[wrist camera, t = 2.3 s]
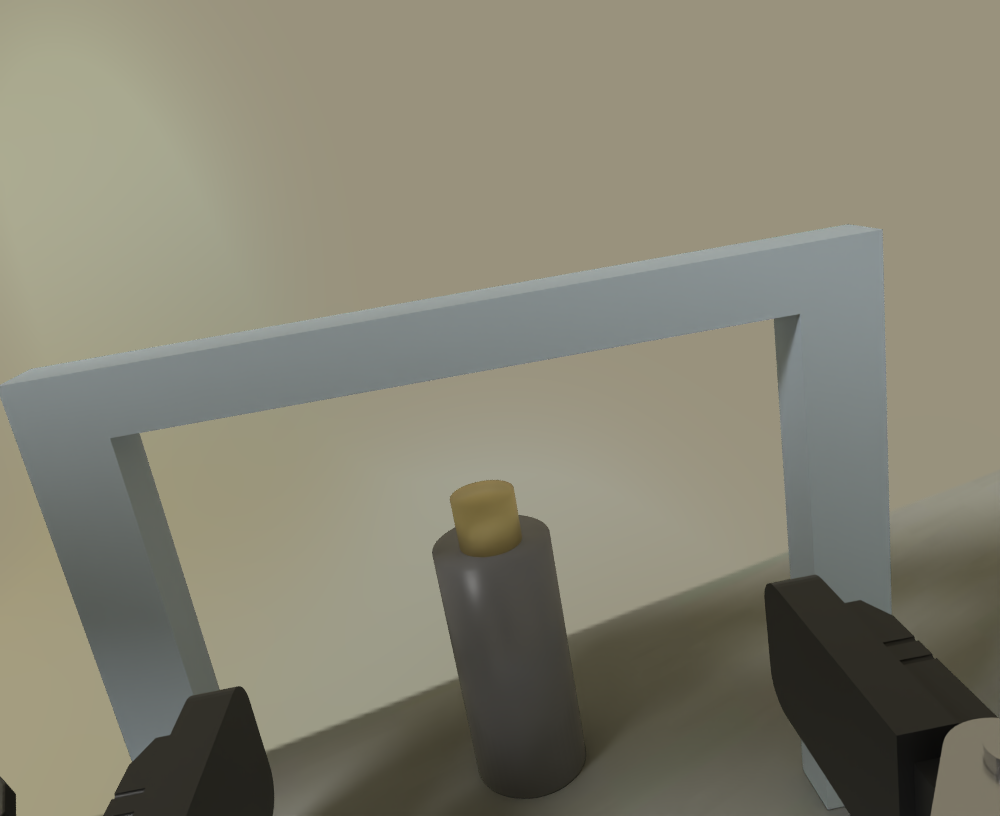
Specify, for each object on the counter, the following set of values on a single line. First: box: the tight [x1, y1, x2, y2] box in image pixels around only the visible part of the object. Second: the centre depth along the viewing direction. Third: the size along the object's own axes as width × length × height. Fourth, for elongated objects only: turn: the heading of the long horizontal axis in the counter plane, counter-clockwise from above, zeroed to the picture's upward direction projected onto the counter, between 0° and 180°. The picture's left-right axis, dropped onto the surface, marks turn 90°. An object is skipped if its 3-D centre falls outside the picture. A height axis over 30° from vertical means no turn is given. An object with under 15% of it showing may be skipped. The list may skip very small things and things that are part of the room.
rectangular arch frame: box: [0, 224, 892, 810], centre depth 27 cm, size 25×2×20 cm, turn 95°
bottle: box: [432, 480, 586, 799], centre depth 32 cm, size 4×4×12 cm
